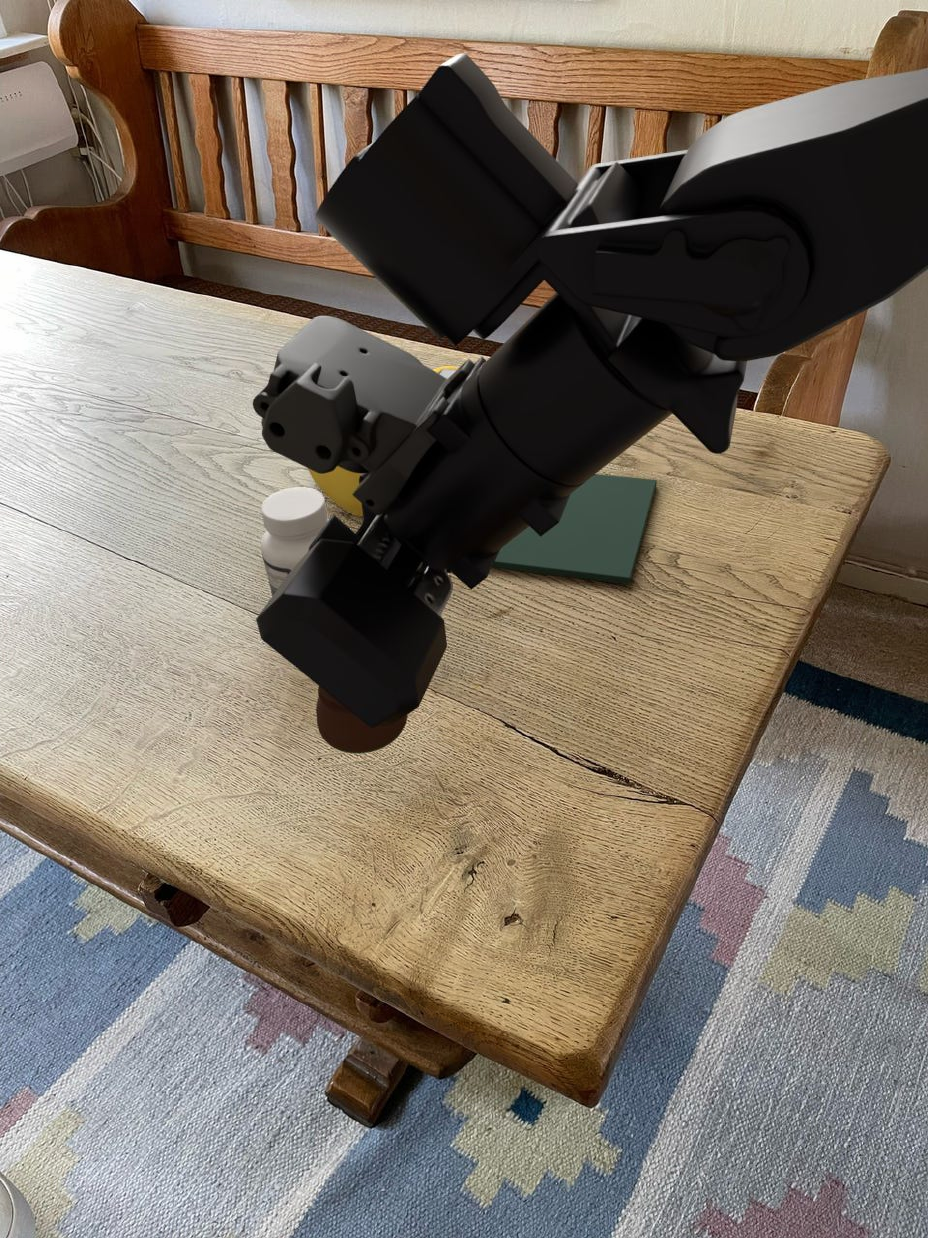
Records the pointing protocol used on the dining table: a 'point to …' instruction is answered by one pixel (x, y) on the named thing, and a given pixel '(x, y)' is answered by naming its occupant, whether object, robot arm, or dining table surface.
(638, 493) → the play mat
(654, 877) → the dining table surface
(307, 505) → the pill bottle
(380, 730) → the chess piece
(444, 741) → the dining table surface
